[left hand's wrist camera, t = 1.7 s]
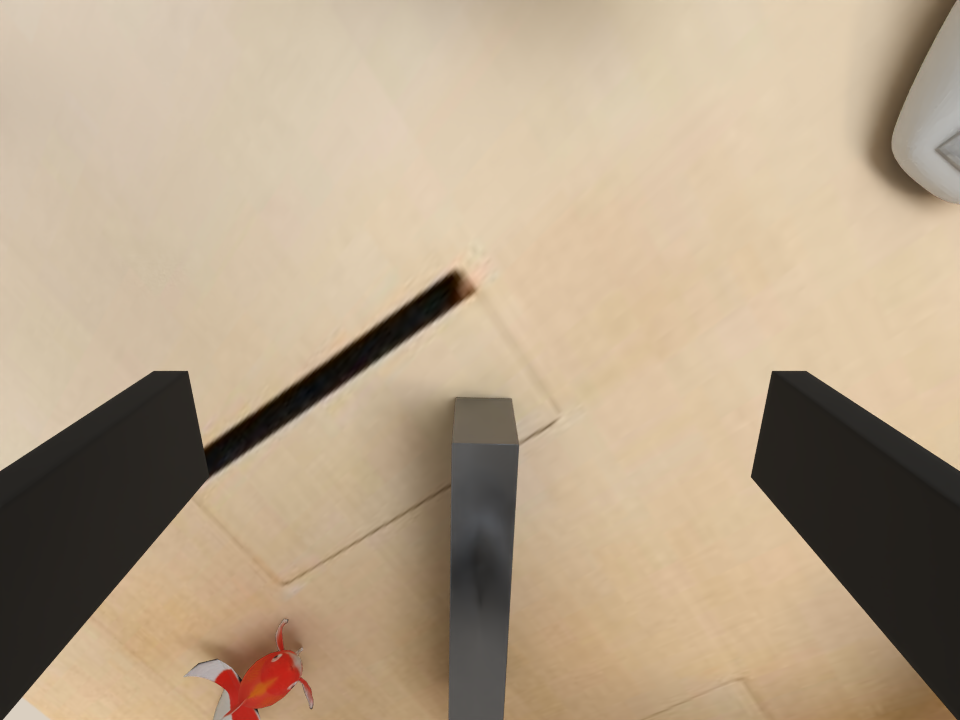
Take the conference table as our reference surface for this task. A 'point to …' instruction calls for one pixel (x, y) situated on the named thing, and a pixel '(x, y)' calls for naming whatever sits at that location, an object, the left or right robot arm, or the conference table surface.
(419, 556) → the conference table surface
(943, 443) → the conference table surface
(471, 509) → the bar
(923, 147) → the projector
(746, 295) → the conference table surface
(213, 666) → the fish
